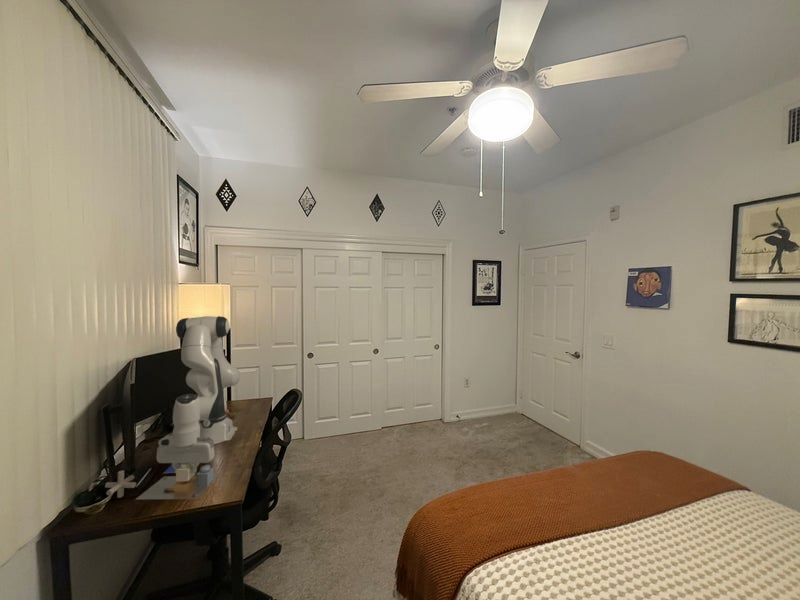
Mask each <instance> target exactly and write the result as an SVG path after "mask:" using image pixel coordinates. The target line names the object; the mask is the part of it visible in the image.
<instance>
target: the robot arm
mask: <svg viewBox="0 0 800 600" xmlns="http://www.w3.org/2000/svg"><path fill="white" fill-rule="evenodd" d="M229 331H230V322H229V320H228V318H226V316H221V315H220V316H219V315H218V316H211V315H210V316H209V315H208V316H206V315H205V316H198V317H197V316H196V317H190V318H189V317H185V318H181V319H179V321H177V323H176V326H175V333H176V336H177V338H179V339H181V340H182V343H181V350H180V351H181V352H180V353H181V354H180V358H181V363H183V364H184V365H185V367H188V368H189V369H190V370H189V371H188V372H187V373H186V377H185V383H186V385H187V386H188V387H189V388H191V389H192V390H193V391H194V392H195V393H196V394H195V393H185V394H182V395H180V396H178V397H177V398H176V399H175V402H174V405H173V407H172V412H171V413H172V415H171V420H172V423H173V425H174V426H173V430H172V432H170V433H169V434H166V435H165V436H164V437H162V438H160V439H159V440H158V447H157V449H156V461H157V463H159V464H171V465H172V466H173V468H174V469H175V473H174V474H175V475H176V470H177V469H178V468H179V467H180V466H179V464H178V463H191V464H193V465H195V466H194V467H193V468H192V469H190V474H195V475H196V474H197V471H198V470H197V468H198V466H199V465H200V464H208V463H210V462H211V461H212V460H213V459H214V458H215V447H214V446H215V445H217V444H220V443H223V442H227V441H230V440H232V438H233V436H234V435H235V433H236V432H237V431H238V427H237V426H234V424H233V423H234V422H233V420H232V419H231V418H229V417H228V416H227V414H228V413H229V410H230V409H227V406H228V403H227V400H226V399H227V398H226V397H225V394H224V392H225V391H224V388H230V387H234V386H236V385H237V384H238V383H239V382H240V379H241V373H240V371H239V369H238V368H237V367H235V366H233V365H232V364H231V363H230V362H229V361H228V360H227V358H226V356H225V353H224V346H223V338H225V337H226V336H227V335H228V334H229ZM235 431H236V432H235Z"/></svg>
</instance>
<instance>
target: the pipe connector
mask: <svg viewBox="0 0 800 600" xmlns="http://www.w3.org/2000/svg"><path fill="white" fill-rule="evenodd" d="M134 479H135V475H134V474H130V475H129V476H128V477H125V470H119V471H118V472H117V481H114V482H113V481H107V482H106V483H105V485H104V488H106V489H108V490H107V491H106V494H105V495H106V496H111V495H113V494H114V493H116V492H117V493H116V495H117V498H123V497H124V495H125V489H134V488H135V487H136V486H137V482H134V481H133V480H134Z"/></svg>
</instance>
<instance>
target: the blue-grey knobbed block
mask: <svg viewBox="0 0 800 600" xmlns="http://www.w3.org/2000/svg"><path fill="white" fill-rule="evenodd" d="M214 469H215V468H214V467H211V465H210V464H204V465H202V466H200V469H199V471H198V472H196V473H195V476H196V477H197V485H208V484H209V483H210V482H211V481H212V480H213V479H214V476H215V475H214V473H215V470H214Z"/></svg>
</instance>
